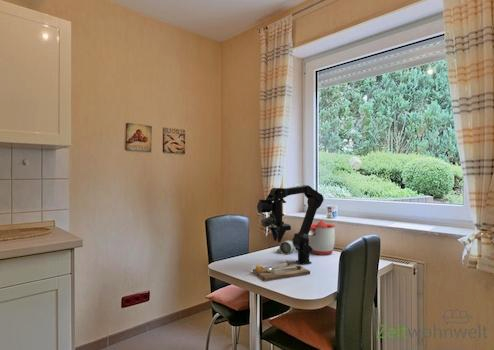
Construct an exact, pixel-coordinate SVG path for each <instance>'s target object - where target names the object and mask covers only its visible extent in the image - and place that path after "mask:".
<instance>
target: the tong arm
mask: <svg viewBox="0 0 494 350" xmlns="http://www.w3.org/2000/svg"><path fill="white" fill-rule="evenodd" d="M289 264H290V261H288V260H287V261H284V262H282V263H281V262H280V263H279V264H276V265H273V267H272V266H269V267H270V268H266V272H267V273H271V272H272V271H273V269H279V268H283V267H285V266H288V265H289Z"/></svg>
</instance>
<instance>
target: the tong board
mask: <svg viewBox="0 0 494 350" xmlns="http://www.w3.org/2000/svg"><path fill="white" fill-rule="evenodd" d="M273 266H274V265H273ZM273 266H265V267H263V271H257V270H256V268H253V269H252V272H253V274H255V275H257V277H259V278H260V279H262V280H263V281H265V282H269V281H274V280H281V279H288V278H295V277H301V276H307V275H311V271H310V270H309V269H307V268H305V267H303V266H302V265H299V264H296V263H295V262H294V263H289V265H288V266H285V267H283V268H279V269H273V271H272V272H271V273H267V272H266V268H270V267H273Z"/></svg>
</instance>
